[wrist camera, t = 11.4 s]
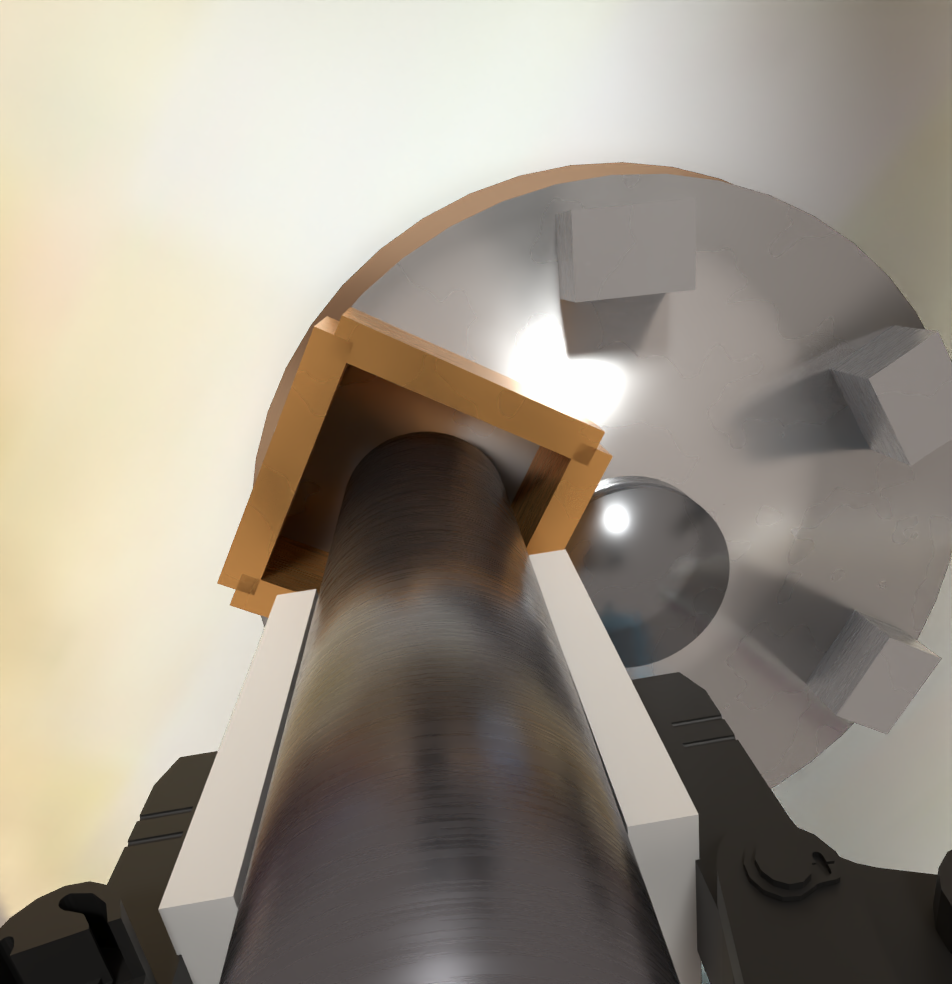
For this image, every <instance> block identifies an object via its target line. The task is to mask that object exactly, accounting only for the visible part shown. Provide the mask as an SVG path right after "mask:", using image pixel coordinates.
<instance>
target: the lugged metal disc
mask: <svg viewBox="0 0 952 984" xmlns="http://www.w3.org/2000/svg"><path fill="white" fill-rule="evenodd" d="M413 432H439V433H445V434H448V435H452V436H455V437H458V438H460V439H463V440H465V441H466V442H468V443H470V444H472V445H473V446H475V447H476V448H477V449H479V450H480V451H481V452H482V453H483V454H484V455H485V456H486V457H487V458H488V459H489V460H490V461H491V462H492V464H493V465H494V466H495V468H496V469H497V471H498V473H499V475H500V476H501V479H502V482H503V484H504V487H505V490H506V492H507V495H508V498H509V501H510V504H511V507H512V509H513V512H514V515H515V518H516V521H517V524H518V526H519V529H520V532H521V535H522V538H523V540H524V543H525V546H526V549H527V552H528V555H533V554H539V553H546V552H552V551H558V550H565V549H566V551H567V553H568V555H569V557H570V559H571V561H572V563H573V565H574V567H575V569H576V571H577V573H578V575H579V577H580V579H581V581H582V583H583V585H584V587H585V589H586V591H587V593H588V595H589V597H590V599H591V601H592V603H593V605H594V607H595V609H596V611H597V613H598V615H599V617H600V619H601V621H602V623H603V625H604V627H605V629H606V631H607V633H608V635H609V637H610V639H611V641H612V643H613V645H614V647H615V649H616V651H617V653H618V655H619V657H620V659H621V661H622V663H623V665H624V667H625V669H626V671H627V673H628V675H629V677H630V679H631V680H633V679H639V678H645V677H651V676H657V675H663V674H669V673H675V672H680V673H681V674H683V675H684V676H686V677H687V678H689V679H690V680H692V681H693V682H694V683H696V684H697V685H699V686H700V687H702V688H703V689H705V690H706V692H707V693H708V695H709V696H710V698H711V699H712V701H713V702H714V704H715V705H716V707H717V708H718V710H719V711H720V713H721V715H722V719H725V721H726V722H727V724H728V725H729V727H730V728H731V730H732V731H733V733H734V734H735V738H736V740H739V742H740V743H741V745H742V746H743V748H744V749H745V751H746V753H747V754H748V756H749V757H750V759H751V760H752V762H753V763H754V765H755V766H756V768H757V769H758V771H759V772H760V774H761V775H762V777H763V778H764V780H765V781H766V783H767V785H768V786H769V788H770V789H771V788H772V787H774V786H776V785H778V784H779V783H781V782H782V781H783V780H785V779H786V778H788V777H789V776H791V775H792V774H794V773H795V772H797V771H798V770H799V769H801V768H802V767H804V766H805V765H807V764H808V763H810V762H811V761H812V760H813V759H815V758H816V757H817V756H818V755H819V754H820V753H822V752H823V751H824V750H825V749H826V748H828V747H829V746H830V745H831V744H832V743H833V742H835V741H836V740H837V739H838V738H839V737H841V736H842V735H843V734H844V733H845V732H846V731H847V730H848V729H849V727H850V726H851V725H852V724H853V723H854V722H855V723H858V724H860V725H863V726H866V727H868V728H871V729H874V730H877V731H879V732H882V733H885V734H888V732H889V731H890V729H891V728H892V727H893V725H894V724H895V722H896V721H897V720H898V718H899V717H900V715H901V714H902V713H903V711H904V710H905V709H906V707H907V706H908V704H909V703H910V702H911V700H912V699H913V697H914V696H915V695H916V693H917V692H918V690H919V689H920V688H921V686H922V685H923V683H924V682H925V681H926V679H927V678H928V677H929V675H930V674H931V672H932V671H933V670H934V668H935V667H936V665H937V664H938V663H939V661H940V660H941V658H940V657H939V656H937V655H936V654H935V653H933V652H932V651H931V650H929V649H928V648H927V647H925V646H924V645H923V644H921V643H920V642H918V641H917V639H918V637H919V635H920V633H921V631H922V629H923V626H924V624H925V622H926V620H927V618H928V616H929V614H930V612H931V610H932V608H933V606H934V604H935V602H936V599H937V596H938V593H939V590H940V587H941V585H942V582H943V579H944V576H945V573H946V570H947V567H948V564H949V561H950V557H951V552H952V362H951V359H950V357H949V355H948V352H947V350H946V348H945V345H944V343H943V341H942V339H941V336H940V334H939V332H938V331H932V330H925V328H924V326H923V324H922V323H921V321H920V319H919V317H918V315H917V313H916V312H915V310H914V309H913V308H912V306H911V305H910V304H909V302H908V301H907V300H906V298H905V297H904V296H903V295H902V293H901V292H900V291H899V289H898V288H897V287H896V285H895V284H894V283H893V281H892V280H891V279H890V277H889V276H888V275H887V274H886V273H885V272H884V271H883V270H882V269H881V268H880V267H878V266H877V265H876V264H875V263H874V262H873V261H872V260H871V259H870V258H869V257H868V256H867V255H866V254H865V253H864V252H863V251H862V250H861V249H860V248H858V247H857V246H856V245H855V244H854V243H853V242H851V241H850V240H848V239H847V238H845V237H844V236H843V235H841V234H840V233H838V232H837V231H835V230H834V229H832V228H831V227H829V226H828V225H826V224H825V223H823V222H822V221H821V220H819V219H818V218H816V217H815V216H813V215H811V214H808V213H806V212H804V211H802V210H800V209H798V208H796V207H794V206H791V205H789V204H787V203H785V202H783V201H781V200H779V199H776V198H774V197H772V196H770V195H767V194H764V193H760V192H757V191H754V190H750V189H747V188H743V187H740V186H736V185H733V184H729V183H726V182H722V181H719V180H711V179H703V178H695V177H688V176H680V175H672V174H632V175H608V176H602V177H596V178H590V179H584V180H578V181H573V182H567V183H561V184H555V185H552V186H549V187H546V188H543V189H540V190H537V191H534V192H530V193H527V194H524V195H521V196H518V197H515V198H512V199H508V200H505V201H502V202H500V203H498V204H496V205H494V206H492V207H490V208H488V209H486V210H484V211H481V212H479V213H477V214H475V215H473V216H471V217H469V218H467V219H465V220H463V221H461V222H459V223H457V224H454V225H452V226H450V227H449V228H447V229H446V230H444V231H443V232H441V233H440V234H438V235H437V236H435V237H434V238H432V239H431V240H429V241H428V242H426V243H425V244H423V245H422V246H420V247H419V248H417V249H416V250H414V251H413V252H411V253H410V254H408V255H407V256H405V257H404V258H402V259H401V260H400V261H399V262H398V263H397V264H396V265H395V266H393V267H392V268H391V269H390V270H389V271H388V272H387V273H385V274H384V275H383V276H382V277H381V278H380V279H379V280H378V281H376V282H375V283H374V284H373V285H372V286H371V287H370V288H369V289H367V290H366V291H365V292H364V293H363V294H362V295H361V296H360V297H359V298H358V299H357V301H356V302H355V303H354V304H353V305H352V306H351V307H350V308H349V309H348V310H347V311H346V312H345V313H344V314H343V315H342V316H341V318H340V320H339V321H337V320H335V319H333V318H331V317H328V316H327V317H325V318H324V319H323V320H321V321H320V322H319V323H318V324H316V325H315V326H314V328H313V330H312V333H311V336H310V338H309V341H308V344H307V346H306V349H305V352H304V354H303V357H302V360H301V362H300V365H299V368H298V370H297V373H296V376H295V378H294V381H293V383H292V386H291V389H290V391H289V394H288V397H287V399H286V402H285V405H284V407H283V410H282V413H281V415H280V418H279V421H278V423H277V425H276V427H275V430H274V434H273V437H272V439H271V442H270V445H269V447H268V450H267V453H266V455H265V458H264V461H263V463H262V466H261V468H260V471H259V474H258V476H257V479H256V482H255V484H254V487H253V490H252V492H251V495H250V498H249V500H248V503H247V506H246V508H245V511H244V514H243V516H242V519H241V522H240V524H239V527H238V530H237V532H236V535H235V538H234V540H233V543H232V545H231V548H230V551H229V553H228V556H227V559H226V561H225V564H224V567H223V569H222V572H221V575H220V577H219V580H218V584H221V585H224V586H227V587H230V588H233V589H236V591H235V593H234V596H233V598H232V601H231V604H230V605H231V606H234V607H237V608H240V609H243V610H246V611H249V612H252V613H255V614H258V615H261V618H262V621H263V624H264V627H265V625H266V623H267V620H268V618H269V615H270V612H271V610H272V607H273V604H274V602H275V599H276V596H277V595H281V594H287V593H293V592H300V591H306V590H312V589H317V593H318V595H319V591H320V587H321V583H322V579H323V575H324V571H325V567H326V563H327V559H328V556H329V552H330V548H331V544H332V540H333V536H334V532H335V528H336V524H337V520H338V516H339V513H340V509H341V505H342V501H343V497H344V493H345V489H346V485H347V483H348V481H349V478H350V476H351V474H352V472H353V471H354V469H355V467H356V466H357V465H358V463H359V462H360V461H361V460H362V459H363V458H364V457H365V456H366V455H367V454H368V453H369V452H370V451H371V450H373V449H374V448H375V447H377V446H378V445H380V444H381V443H383V442H385V441H387V440H389V439H391V438H394V437H396V436H399V435H403V434H407V433H413Z"/></svg>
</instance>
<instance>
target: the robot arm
mask: <svg viewBox="0 0 952 984" xmlns="http://www.w3.org/2000/svg"><path fill="white" fill-rule="evenodd" d="M529 557H530V560H531V563H532V566H533V569H534V572H535V574H536V577H537V580H538V583H539V586H540V589H541V591H542V594H543V597H544V600H545V603H546V606H547V608H548V611H549V614H550V617H551V620H552V623H553V625H554V628H555V631H556V634H557V637H558V640H559V642H560V645H561V648H562V651H563V654H564V657H565V659H566V662H567V665H568V668H569V671H570V674H571V676H572V679H573V682H574V685H575V688H576V690H577V693H578V696H579V699H580V702H581V705H582V707H583V710H584V713H585V716H586V719H587V721H588V724H589V727H590V730H591V733H592V736H593V738H594V741H595V744H596V747H597V750H598V752H599V755H600V758H601V761H602V764H603V767H604V769H605V772H606V775H607V778H608V781H609V784H610V786H611V789H612V792H613V795H614V798H615V801H616V803H617V806H618V809H619V812H620V815H621V817H622V820H623V823H624V826H625V829H626V832H627V834H628V837H629V840H630V843H631V846H632V849H633V851H634V854H635V857H636V860H637V863H638V866H639V868H640V871H641V874H642V877H643V880H644V882H645V885H646V888H647V891H648V894H649V897H650V899H651V902H652V905H653V908H654V911H655V914H656V916H657V919H658V922H659V925H660V928H661V931H662V933H663V936H664V939H665V942H666V945H667V947H668V950H669V953H670V956H671V959H672V962H673V964H674V967H675V970H676V973H677V976H678V979H679V981H680V984H702V982H701V961H702V963H703V966H704V968H705V971H706V973H707V976H708V978H709V981H710V983H711V984H952V850H951V851H948V852H947V854H946V856H945V857H944V859H943V861H942V863H941V865H940V866H939V869H938V875H935V874H926V873H918V872H909V871H900V870H892V869H883V868H876V867H871V866H867V865H862V864H857V863H854V862H851V861H849V860H846V859H844V858H841V857H839V856H838V854H837V853H836V851H834V850H833V849H832V848H831V847H829V846H828V845H827V844H825V843H824V842H823V841H822V840H820V839H819V838H818V837H817V836H815V835H814V834H811V833H809V832H807V831H804V830H802V829H800V828H797V827H796V825H795V824H794V823H793V822H792V820H791V819H790V818H789V817H788V815H787V813H786V812H785V810H784V809H783V807H782V806H781V804H780V803H779V801H778V800H777V798H776V797H775V795H774V794H773V792H772V791H771V789H770V788H769V786H768V785H767V783H766V781H765V780H764V778H763V777H762V775H761V774H760V772H759V771H758V769H757V768H756V766H755V765H754V763H753V762H752V760H751V759H750V757H749V756H748V754H747V753H746V751H745V749H744V748H743V746H742V745H741V743H740V742H739V740H736V738H735V734H734V733H733V731H732V730H731V728H730V727H729V725H728V724H727V722H726V721H725V719H722V715H721V713H720V711H719V710H718V708H717V707H716V705H715V704H714V702H713V701H712V699H711V698H710V696H709V695H708V693H707V692H706V690H705V689H703V688H702V687H700V686H699V685H697V684H696V683H694V682H693V681H692V680H690V679H689V678H687V677H686V676H684V675H683V674H681V673H680V672H675V673H669V674H663V675H657V676H651V677H645V678H639V679H633V680H631V679H630V677H629V675H628V673H627V671H626V669H625V667H624V665H623V663H622V661H621V659H620V657H619V655H618V653H617V651H616V649H615V647H614V645H613V643H612V641H611V639H610V637H609V635H608V633H607V631H606V629H605V627H604V625H603V623H602V621H601V619H600V617H599V615H598V613H597V611H596V609H595V607H594V605H593V603H592V601H591V599H590V597H589V595H588V593H587V591H586V589H585V587H584V585H583V583H582V581H581V579H580V577H579V575H578V573H577V571H576V569H575V567H574V565H573V563H572V561H571V559H570V557H569V555H568V553H567V551H566V549H565V550H558V551H552V552H546V553H539V554H533V555H529ZM317 599H318V593H317V589H312V590H306V591H300V592H293V593H287V594H281V595H277V596H276V599H275V602H274V604H273V607H272V610H271V612H270V615H269V618H268V620H267V623H266V625H265V628H264V631H263V633H262V636H261V639H260V641H259V644H258V647H257V649H256V652H255V655H254V657H253V660H252V662H251V665H250V668H249V670H248V673H247V676H246V678H245V681H244V684H243V686H242V689H241V692H240V694H239V697H238V700H237V702H236V705H235V707H234V710H233V713H232V715H231V718H230V721H229V723H228V726H227V729H226V731H225V734H224V737H223V739H222V742H221V745H220V747H219V750H218V751H215V752H209V753H203V754H197V755H191V756H185V757H180V758H179V759H178V760H177V761H176V762H175V763H174V764H173V765H172V766H171V768H170V769H169V770H168V771H167V772H166V773H165V774H164V775H163V776H162V777H161V778H160V779H159V780H158V782H157V783H156V784H155V785H154V786H153V789H152V791H151V793H150V795H149V797H148V799H147V801H146V803H145V805H144V808H143V810H142V812H141V814H140V821H137V822H136V825H135V827H134V829H133V831H132V833H131V835H130V837H129V839H128V847H125V848H124V850H123V852H122V854H121V856H120V858H119V861H118V863H117V865H116V867H115V869H114V871H113V873H112V875H111V878H110V880H109V882H108V884H107V885H104V884H100V883H95V882H84V883H79V884H73V885H68V886H64V887H62V888H60V889H57V890H55V891H53V892H51V893H49V894H46V895H44V896H42V897H40V898H38V899H36V900H35V901H33V902H32V903H31V904H29V905H28V906H26V907H25V908H24V909H22V910H21V911H19V912H18V913H17V914H15V915H14V916H12V917H11V918H10V919H9V920H8V921H7V922H6V923H5V924H4V925H3V926H2V927H1V928H0V984H219V982H220V978H221V974H222V970H223V966H224V962H225V958H226V955H227V951H228V947H229V943H230V939H231V935H232V931H233V927H234V923H235V919H236V915H237V912H238V908H239V904H240V900H241V896H242V892H243V888H244V884H245V880H246V876H247V872H248V868H249V865H250V861H251V857H252V853H253V849H254V845H255V841H256V837H257V833H258V829H259V825H260V822H261V818H262V814H263V810H264V806H265V802H266V798H267V794H268V790H269V786H270V782H271V779H272V775H273V771H274V767H275V763H276V759H277V755H278V751H279V747H280V743H281V739H282V735H283V732H284V728H285V724H286V720H287V716H288V712H289V708H290V704H291V700H292V696H293V692H294V689H295V685H296V681H297V677H298V673H299V669H300V665H301V661H302V657H303V653H304V649H305V646H306V642H307V638H308V634H309V630H310V626H311V622H312V618H313V614H314V610H315V606H316V602H317Z"/></svg>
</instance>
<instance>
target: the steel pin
mask: <svg viewBox="0 0 952 984" xmlns="http://www.w3.org/2000/svg"><path fill="white" fill-rule="evenodd" d="M219 984H680V981H679V979H678V976H677V973H676V970H675V967H674V964H673V962H672V959H671V956H670V953H669V950H668V947H667V945H666V942H665V939H664V936H663V933H662V931H661V928H660V925H659V922H658V919H657V916H656V914H655V911H654V908H653V905H652V902H651V899H650V897H649V894H648V891H647V888H646V885H645V882H644V880H643V877H642V874H641V871H640V868H639V866H638V863H637V860H636V857H635V854H634V851H633V849H632V846H631V843H630V840H629V837H628V834H627V832H626V829H625V826H624V823H623V820H622V817H621V815H620V812H619V809H618V806H617V803H616V801H615V798H614V795H613V792H612V789H611V786H610V784H609V781H608V778H607V775H606V772H605V769H604V767H603V764H602V761H601V758H600V755H599V752H598V750H597V747H596V744H595V741H594V738H593V736H592V733H591V730H590V727H589V724H588V721H587V719H586V716H585V713H584V710H583V707H582V705H581V702H580V699H579V696H578V693H577V690H576V688H575V685H574V682H573V679H572V676H571V674H570V671H569V668H568V665H567V662H566V659H565V657H564V654H563V651H562V648H561V645H560V642H559V640H558V637H557V634H556V631H555V628H554V625H553V623H552V620H551V617H550V614H549V611H548V608H547V606H546V603H545V600H544V597H543V594H542V591H541V589H540V586H539V583H538V580H537V577H536V574H535V572H534V569H533V566H532V563H531V560H530V557H529V555H528V552H527V549H526V546H525V543H524V540H523V538H522V535H521V532H520V529H519V526H518V524H517V521H516V518H515V515H514V512H513V509H512V507H511V504H510V501H509V498H508V495H507V492H506V490H505V487H504V484H503V482H502V479H501V476H500V475H499V473H498V471H497V469H496V468H495V466H494V465H493V464H492V462H491V461H490V460H489V459H488V458H487V457H486V456H485V455H484V454H483V453H482V452H481V451H480V450H479V449H477V448H476V447H475V446H473V445H472V444H470V443H468V442H466V441H465V440H463V439H460V438H458V437H455V436H452V435H448V434H445V433H439V432H413V433H407V434H403V435H399V436H396V437H394V438H391V439H389V440H387V441H385V442H383V443H381V444H380V445H378V446H377V447H375V448H374V449H373V450H371V451H370V452H369V453H368V454H367V455H366V456H365V457H364V458H363V459H362V460H361V461H360V462H359V463H358V465H357V466H356V467H355V469H354V471H353V472H352V474H351V476H350V478H349V481H348V483H347V485H346V489H345V493H344V497H343V501H342V505H341V509H340V513H339V516H338V520H337V524H336V528H335V532H334V536H333V540H332V544H331V548H330V552H329V556H328V559H327V563H326V567H325V571H324V575H323V579H322V583H321V587H320V591H319V595H318V599H317V602H316V606H315V610H314V614H313V618H312V622H311V626H310V630H309V634H308V638H307V642H306V646H305V649H304V653H303V657H302V661H301V665H300V669H299V673H298V677H297V681H296V685H295V689H294V692H293V696H292V700H291V704H290V708H289V712H288V716H287V720H286V724H285V728H284V732H283V735H282V739H281V743H280V747H279V751H278V755H277V759H276V763H275V767H274V771H273V775H272V779H271V782H270V786H269V790H268V794H267V798H266V802H265V806H264V810H263V814H262V818H261V822H260V825H259V829H258V833H257V837H256V841H255V845H254V849H253V853H252V857H251V861H250V865H249V868H248V872H247V876H246V880H245V884H244V888H243V892H242V896H241V900H240V904H239V908H238V912H237V915H236V919H235V923H234V927H233V931H232V935H231V939H230V943H229V947H228V951H227V955H226V958H225V962H224V966H223V970H222V974H221V978H220V982H219Z"/></svg>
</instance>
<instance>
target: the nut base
mask: <svg viewBox="0 0 952 984" xmlns="http://www.w3.org/2000/svg"><path fill="white" fill-rule="evenodd" d="M632 174H672V175H680V176H688V177H695V178H703V179H711V180H719V181H722V182H726V181H724V180H722V179H719V178H715V177H711V176H707V175H703V174H699V173H695V172H691V171H686V170H682V169H678V168H674V167H667V166H656V165H645V164H634V163H624V162H620V163H602V164H585V165H570V166H565V167H560V168H555V169H550V170H546V171H541V172H536V173H531V174H526V175H521V176H518V177H515V178H512V179H509V180H507V181H504V182H501V183H498V184H495V185H493V186H490V187H487V188H484V189H482V190H479V191H476V192H473V193H470V194H468V195H466V196H465V197H463V198H461V199H459V200H457V201H455V202H453V203H451V204H449V205H448V206H446V207H444V208H442V209H440V210H438V211H436V212H434V213H432V214H430V215H429V216H427V217H425V218H423V219H422V220H420V221H419V222H417V223H416V224H415V225H413V226H412V227H410V228H409V229H408V230H406V231H405V232H404V233H402V234H401V235H399V236H398V237H397V238H395V239H394V240H392V241H391V242H390V243H388V244H387V245H385V246H384V247H383V248H381V249H380V250H379V251H378V252H377V253H376V254H375V255H374V256H373V257H372V258H371V259H370V260H369V261H367V262H366V263H365V264H364V265H363V266H362V267H361V268H360V269H359V270H358V271H357V272H356V273H355V274H354V275H353V276H352V277H351V278H350V279H349V280H348V281H347V282H346V283H344V284H343V285H342V287H341V288H340V289H339V291H338V292H337V293H336V294H335V296H334V297H333V298H332V299H331V301H330V302H329V303H328V304H327V306H326V307H325V308H324V309H323V311H322V312H321V313H320V315H319V316H318V317H317V318H316V320H315V321H314V322H313V323H312V325H311V326H310V328H309V330H308V331H307V333H306V335H305V336H304V338H303V340H302V341H301V343H300V345H299V347H298V348H297V350H296V352H295V353H294V355H293V357H292V359H291V360H290V362H289V364H288V365H287V367H286V369H285V372H284V374H283V376H282V379H281V381H280V384H279V386H278V389H277V391H276V393H275V396H274V398H273V401H272V403H271V406H270V408H269V410H268V413H267V417H266V421H265V425H264V429H263V433H262V437H261V441H260V445H259V449H258V452H257V456H256V464H255V473H254V483H253V487H254V484H255V482H256V479H257V476H258V474H259V471H260V468H261V466H262V463H263V461H264V458H265V455H266V453H267V450H268V447H269V445H270V442H271V439H272V437H273V434H274V430H275V427H276V425H277V423H278V421H279V418H280V415H281V413H282V410H283V407H284V405H285V402H286V399H287V397H288V394H289V391H290V389H291V386H292V383H293V381H294V378H295V376H296V373H297V370H298V368H299V365H300V362H301V360H302V357H303V354H304V352H305V349H306V346H307V344H308V341H309V338H310V336H311V333H312V330H313V328H314V326H315V325H316V324H318V323H319V322H320V321H321V320H323V319H324V318H325V317H327V316H328V317H331V318H333V319H335V320H337V321H339V320H340V318H341V316H342V315H343V314H344V313H345V312H346V311H347V310H348V309H349V308H350V307H351V306H352V305H353V304H354V303H355V302H356V301H357V299H358V298H359V297H360V296H361V295H362V294H363V293H364V292H365V291H366V290H367V289H369V288H370V287H371V286H372V285H373V284H374V283H375V282H376V281H378V280H379V279H380V278H381V277H382V276H383V275H384V274H385V273H387V272H388V271H389V270H390V269H391V268H392V267H393V266H395V265H396V264H397V263H398V262H399V261H400V260H401V259H402V258H404V257H405V256H407V255H408V254H410V253H411V252H413V251H414V250H416V249H417V248H419V247H420V246H422V245H423V244H425V243H426V242H428V241H429V240H431V239H432V238H434V237H435V236H437V235H438V234H440V233H441V232H443V231H444V230H446V229H447V228H449V227H450V226H452V225H454V224H457V223H459V222H461V221H463V220H465V219H467V218H469V217H471V216H473V215H475V214H477V213H479V212H481V211H484V210H486V209H488V208H490V207H492V206H494V205H496V204H498V203H500V202H502V201H505V200H508V199H512V198H515V197H518V196H521V195H524V194H527V193H530V192H534V191H537V190H540V189H543V188H546V187H549V186H552V185H555V184H561V183H567V182H573V181H578V180H584V179H590V178H596V177H602V176H608V175H632ZM726 183H729V182H726ZM729 184H731V183H729Z"/></svg>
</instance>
